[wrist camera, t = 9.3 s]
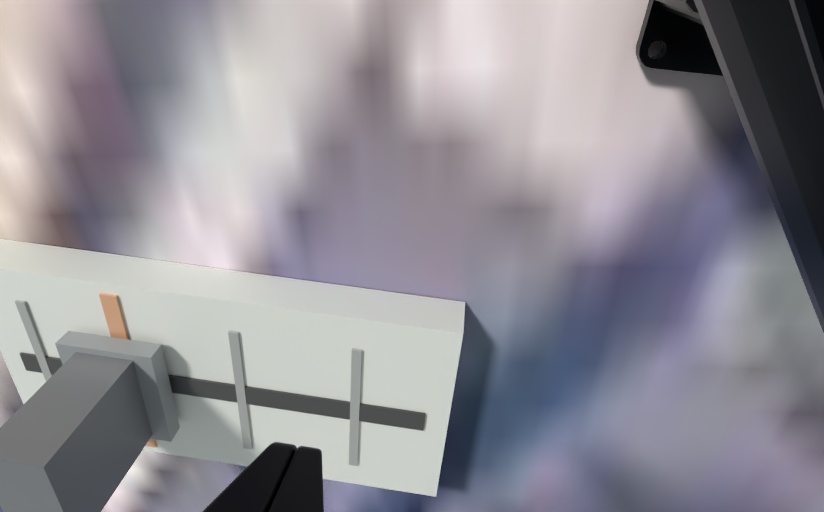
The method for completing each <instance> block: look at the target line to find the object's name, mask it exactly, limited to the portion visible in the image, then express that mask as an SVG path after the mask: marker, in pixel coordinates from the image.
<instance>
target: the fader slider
mask: <svg viewBox="0 0 824 512" xmlns="http://www.w3.org/2000/svg"><path fill="white" fill-rule="evenodd" d="M55 345H56V348H57V351H58V353H59V356H60V359H61V362H62V366H61V367H60V368H59V369H58V370H57V371H56V372H55V373H54V374H53V375H52V376H51V377H50V378H49V379H48V380H47V381H46V382H45V383H44V384H43V385H42V387H41V388H40V389H39V390H38V391H37V392H36V393H35V394H34V395H33V396H32V397H31V398H30V399H29V400H28V401H27V402H26V403H25V404H24V405H23V406H22V407H21V408H20V409H19V410H18V411H17V412H16V413H15V414H14V415H13V416H12V417H11V418H10V419H9V420H8V421H7V422H6V423H5V424H4V425H3V426H2V427H1V428H0V506H1V508H2V510H3V512H101V510H102V509H103V508H104V506H105V505H106V503H107V502H108V500H109V499H110V497H111V496H112V494H113V493H114V491H115V490H116V488H117V487H118V485H119V484H120V482H121V481H122V479H123V478H124V476H125V475H126V473H127V472H128V470H129V469H130V467H131V466H132V464H133V463H134V461H135V460H136V458H137V457H138V455H139V454H140V453H141V451H142V450H143V448H144V447H145V445H146V444H147V442H148V441H149V439H150V438H151V439H157V440H163V441H169V442H171V441H172V439H173V438H174V436H175V435H176V433H177V432H178V430H179V428H180V425H179V421H178V416H177V412H176V407H175V403H174V399H173V394H172V390H171V385H170V381H169V376H168V372H167V367H166V363H165V358H164V354H163V349H162V345H161V344H155V343H148V342H142V341H135V340H128V339H121V338H114V337H108V336H101V335H94V334H87V333H80V332H73V331H68V332H67V333H65V334H64V335H63V336H62V337H61V338H60V339H59V340H58V341H57V342H56V343H55Z"/></svg>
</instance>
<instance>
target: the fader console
mask: <svg viewBox="0 0 824 512" xmlns="http://www.w3.org/2000/svg"><path fill="white" fill-rule="evenodd" d="M464 316H465V302H461V301H453V300H446V299H439V298H431V297H424V296H417V295H409V294H402V293H395V292H387V291H380V290H373V289H365V288H358V287H351V286H343V285H336V284H329V283H321V282H314V281H307V280H299V279H292V278H285V277H277V276H270V275H263V274H255V273H248V272H241V271H233V270H226V269H219V268H211V267H204V266H196V265H189V264H182V263H174V262H167V261H160V260H152V259H145V258H138V257H130V256H123V255H116V254H108V253H101V252H94V251H86V250H79V249H72V248H64V247H57V246H50V245H42V244H35V243H28V242H20V241H13V240H6V239H1V240H0V351H1V353H2V355H3V358H4V360H5V362H6V365H7V367H8V369H9V372H10V374H11V376H12V378H13V381H14V383H15V385H16V388H17V390H18V392H19V394H20V397H21V399H22V401H23V404H25V403H26V402H27V401H28V400H29V399H30V398H31V397H32V396H33V395H34V394H35V393H36V392H37V391H38V390H39V389H40V388H41V387H42V385H43V384H44V383H45V382H46V381H47V380H48V379H49V378H50V377H51V376H52V375H53V374H54V373H55V372H56V371H57V370H58V369H59V368H60V367H61V366H62V362H61V359H60V356H59V353H58V351H57V348H56V345H55V343H56V342H57V341H58V340H59V339H60V338H61V337H62V336H63V335H64V334H65V333H67V332H68V331H73V332H80V333H87V334H94V335H101V336H108V337H114V338H121V339H128V340H135V341H142V342H148V343H155V344H161V345H162V349H163V354H164V358H165V363H166V367H167V372H168V376H169V381H170V385H171V390H172V394H173V399H174V403H175V407H176V412H177V416H178V421H179V425H180V428H179V430H178V432H177V433H176V435H175V436H174V438H173V439H172V441H171V442H169V441H163V440H157V439H151V438H150V439H149V441H148V442H147V444H146V445H145V447H144V448H143V450H147V451H153V452H159V453H166V454H172V455H178V456H184V457H191V458H197V459H203V460H209V461H216V462H222V463H228V464H234V465H241V466H247V467H248V466H249V465H250V464H251V463H252V462H253V461H254V460H255V459H256V458H257V457H258V456H259V455H260V454H261V453H262V452H263V451H264V450H265V449H266V448H267V447H268V446H269V445H270V444H271V443H274V442H281V443H287V444H293V445H295V446H296V447H297V448H298V447H299V446H306V447H313V448H319V449H320V450H321V451H322V472H323V479H328V480H335V481H341V482H347V483H353V484H360V485H366V486H372V487H378V488H385V489H391V490H397V491H403V492H410V493H416V494H422V495H429V496H435V497H436V494H437V488H438V482H439V476H440V470H441V464H442V458H443V452H444V446H445V440H446V434H447V428H448V422H449V416H450V410H451V404H452V399H453V393H454V387H455V381H456V375H457V369H458V363H459V357H460V351H461V345H462V339H463V332H464Z"/></svg>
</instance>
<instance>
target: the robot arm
mask: <svg viewBox="0 0 824 512" xmlns="http://www.w3.org/2000/svg"><path fill="white" fill-rule="evenodd" d="M655 41H661V42H662V44H663V48H662V50H661V52H660V53H659V54H658V55H656V56H653V57H650V56H649V55H648V48H649V47H650V45H651V44H652V43H654V42H655ZM636 55H637V58H638V60H639V61H640V62H641V63H642V64H644V65H645V66H647V67H650V68H656V69H665V70H675V71H684V72H694V73H703V74H713V75H722V76H724V79H725V81H726V84H727V86H728V89H729V92H730V94H731V97H732V99H733V102H734V104H735V107H736V110H737V112H738V115H739V117H740V120H741V122H742V125H743V128H744V130H745V133H746V135H747V138H748V140H749V143H750V145H751V148H752V151H753V153H754V156H755V158H756V161H757V163H758V166H759V169H760V171H761V174H762V176H763V179H764V181H765V184H766V186H767V189H768V192H769V194H770V197H771V199H772V202H773V204H774V207H775V210H776V212H777V215H778V217H779V220H780V222H781V225H782V227H783V230H784V233H785V235H786V238H787V240H788V243H789V245H790V248H791V251H792V253H793V256H794V258H795V261H796V263H797V266H798V268H799V271H800V274H801V276H802V279H803V281H804V284H805V286H806V289H807V292H808V294H809V297H810V299H811V302H812V304H813V307H814V309H815V312H816V314H817V317H818V319H819V322H820V324H821V327H822V330H823V332H824V0H649V3H648V7H647V10H646V14H645V17H644V21H643V24H642V28H641V31H640V35H639V38H638V42H637V45H636ZM203 512H324V505H323V472H322V451H321V450H320V449H319V448H313V447H306V446H299V447H298V448H297V447H296V446H295V445H293V444H287V443H281V442H274V443H271V444H270V445H269V446H268V447H267V448H266V449H265V450H264V451H263V452H262V453H261V454H260V455H259V456H258V457H257V458H256V459H255V460H254V461H253V462H252V463H251V464H250V465H249V466H248V467H247V468H246V469H245V470H244V471H243V472H242V473H241V474H240V475H239V476H238V477H237V478H236V479H235V480H234V481H233V482H232V483H231V484H230V485H229V486H228V487H227V488H226V489H225V490H224V491H223V492H222V493H221V494H220V495H219V496H218V497H217V498H216V499H215V500H214V501H213V502H212V503H211V504H210V505H209V506H208V507H207V508H206V509H205V510H204V511H203Z"/></svg>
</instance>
